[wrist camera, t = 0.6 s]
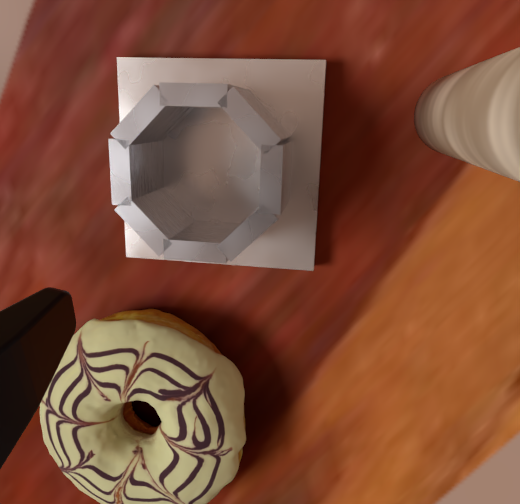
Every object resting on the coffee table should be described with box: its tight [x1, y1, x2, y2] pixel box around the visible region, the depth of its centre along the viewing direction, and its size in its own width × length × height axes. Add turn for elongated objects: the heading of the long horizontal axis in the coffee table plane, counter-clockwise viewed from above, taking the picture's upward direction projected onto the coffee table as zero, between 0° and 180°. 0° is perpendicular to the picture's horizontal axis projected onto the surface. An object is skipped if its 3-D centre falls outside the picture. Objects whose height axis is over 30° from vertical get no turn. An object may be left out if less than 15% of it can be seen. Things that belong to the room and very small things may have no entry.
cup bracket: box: [109, 57, 327, 271], centre depth 21 cm, size 9×9×4 cm
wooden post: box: [414, 47, 520, 182], centre depth 14 cm, size 3×3×13 cm
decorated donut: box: [40, 309, 246, 504], centre depth 25 cm, size 10×11×4 cm
